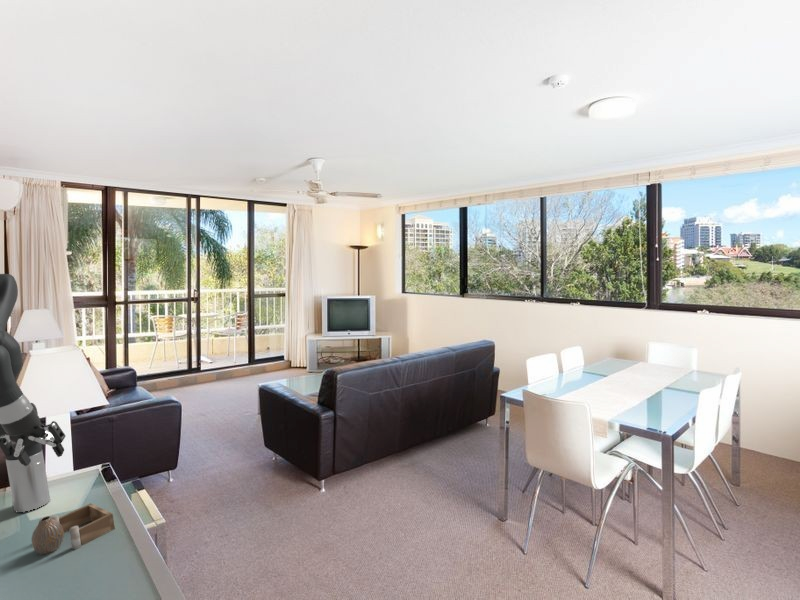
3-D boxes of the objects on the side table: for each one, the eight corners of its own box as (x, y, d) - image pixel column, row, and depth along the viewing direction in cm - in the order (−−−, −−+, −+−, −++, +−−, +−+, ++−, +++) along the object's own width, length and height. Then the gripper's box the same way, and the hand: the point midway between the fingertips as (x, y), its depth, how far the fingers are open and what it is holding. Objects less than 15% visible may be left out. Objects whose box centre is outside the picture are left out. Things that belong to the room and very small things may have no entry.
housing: (51, 536, 132) (48, 517, 131) (91, 517, 141) (89, 499, 140) (74, 550, 124) (71, 530, 124) (115, 529, 133) (113, 510, 132)
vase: (48, 558, 121) (43, 526, 121) (27, 556, 123) (21, 525, 122) (72, 542, 128) (67, 511, 127) (51, 540, 130) (46, 510, 129)
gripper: (50, 398, 128) (76, 443, 135) (-7, 412, 126) (23, 457, 133) (38, 414, 122) (66, 461, 129) (-22, 430, 119) (10, 476, 126)
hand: (44, 459), depth 131 cm, fingers open, 8 cm apart
